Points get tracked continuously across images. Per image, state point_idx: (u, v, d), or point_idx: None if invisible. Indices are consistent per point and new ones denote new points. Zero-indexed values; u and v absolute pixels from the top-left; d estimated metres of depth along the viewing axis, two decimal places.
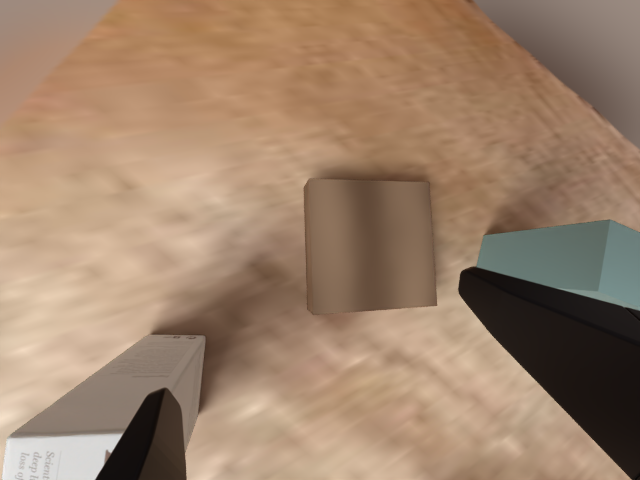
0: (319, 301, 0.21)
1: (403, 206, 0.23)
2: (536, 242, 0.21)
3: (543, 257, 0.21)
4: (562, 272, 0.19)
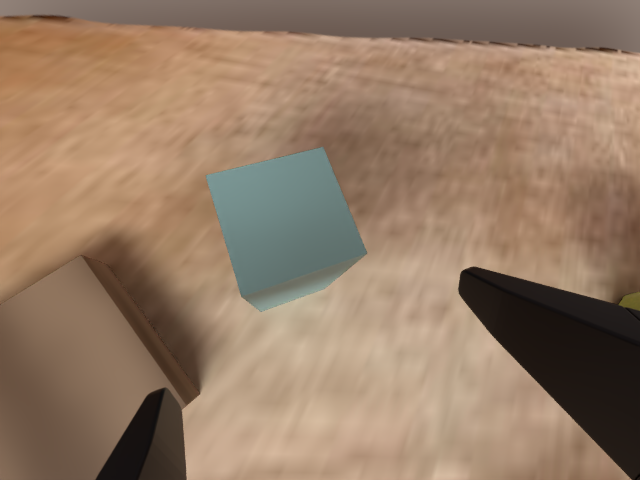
0: None
1: (55, 314, 0.15)
2: None
3: None
4: None
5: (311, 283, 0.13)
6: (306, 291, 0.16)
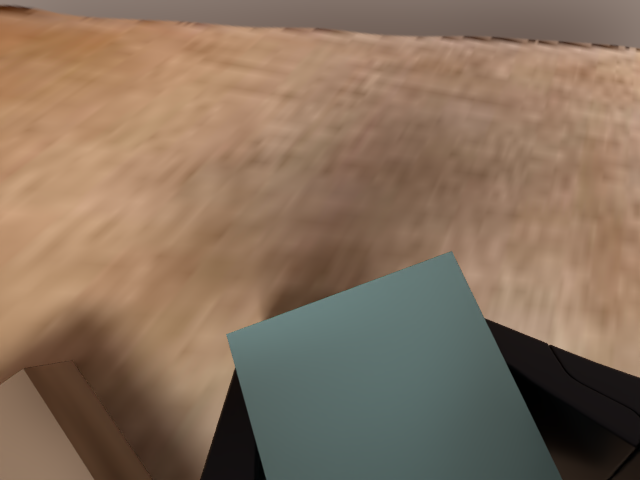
0: None
1: None
2: None
3: None
4: None
5: None
6: None
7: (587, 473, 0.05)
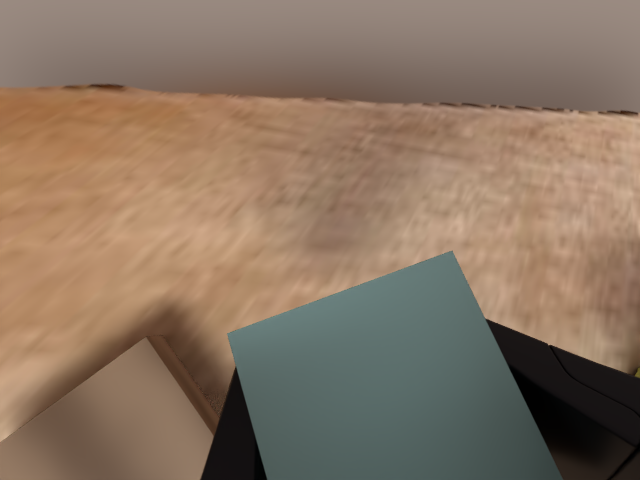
0: None
1: (126, 394, 0.16)
2: None
3: None
4: None
5: None
6: None
7: (587, 473, 0.05)
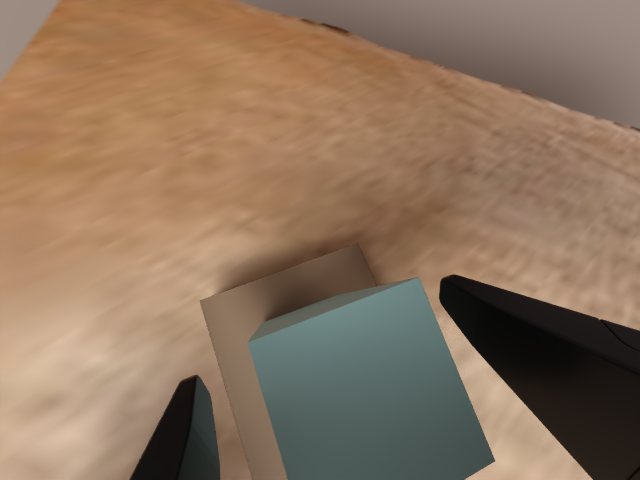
0: (261, 469, 0.14)
1: (335, 286, 0.17)
2: None
3: None
4: None
5: None
6: None
7: None
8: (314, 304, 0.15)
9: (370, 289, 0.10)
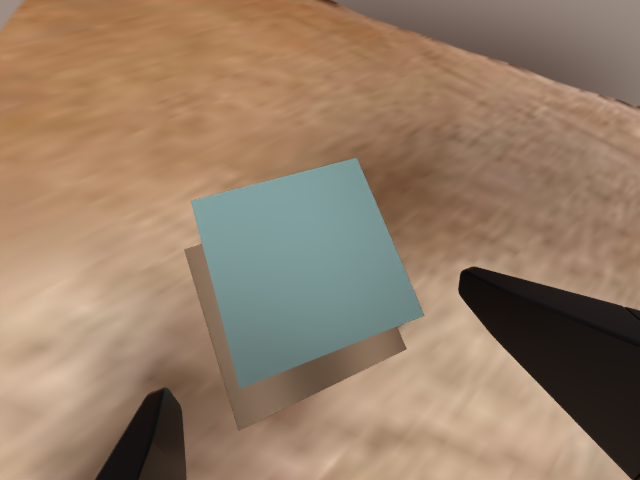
0: (242, 407, 0.15)
1: None
2: None
3: None
4: None
5: None
6: None
7: None
8: None
9: None
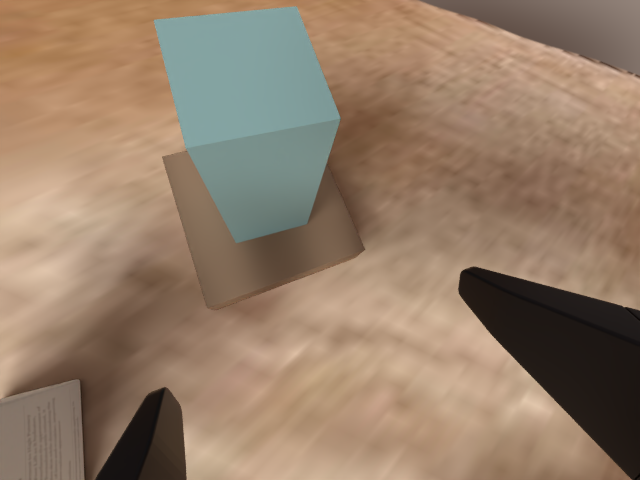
0: (211, 289, 0.16)
1: None
2: None
3: None
4: None
5: (283, 184, 0.12)
6: (283, 213, 0.15)
7: None
8: None
9: None
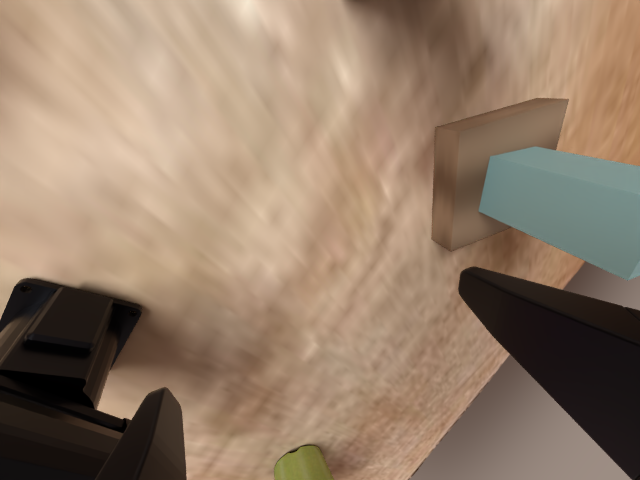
0: (470, 135, 0.20)
1: None
2: (607, 166, 0.18)
3: (608, 173, 0.17)
4: (628, 184, 0.15)
5: (568, 225, 0.17)
6: (517, 206, 0.20)
7: None
8: None
9: None
